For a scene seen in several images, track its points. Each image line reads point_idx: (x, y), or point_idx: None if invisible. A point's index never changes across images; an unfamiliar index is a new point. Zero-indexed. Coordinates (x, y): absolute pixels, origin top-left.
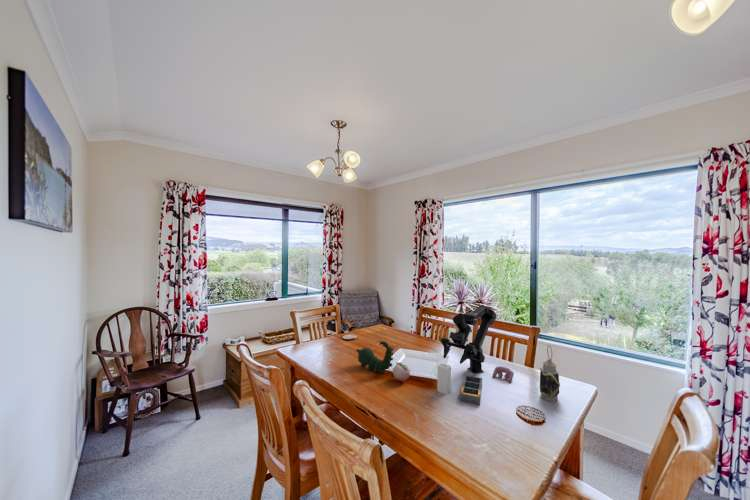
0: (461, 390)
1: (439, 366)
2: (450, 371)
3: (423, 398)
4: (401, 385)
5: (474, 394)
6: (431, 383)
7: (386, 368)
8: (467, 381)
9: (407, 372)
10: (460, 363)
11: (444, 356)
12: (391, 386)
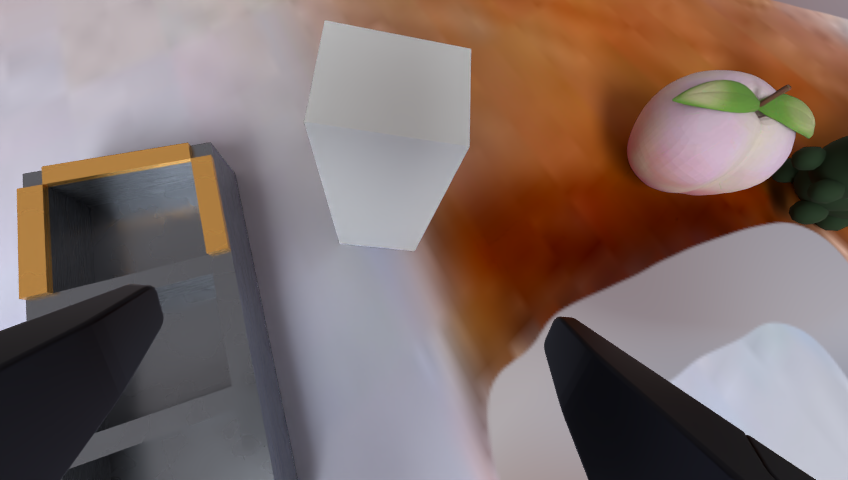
0: (211, 179)
1: (442, 47)
2: (318, 156)
3: None
4: (606, 134)
5: None
6: (505, 267)
7: (804, 200)
8: (211, 403)
9: (659, 117)
10: (149, 305)
11: (569, 330)
12: (628, 98)
